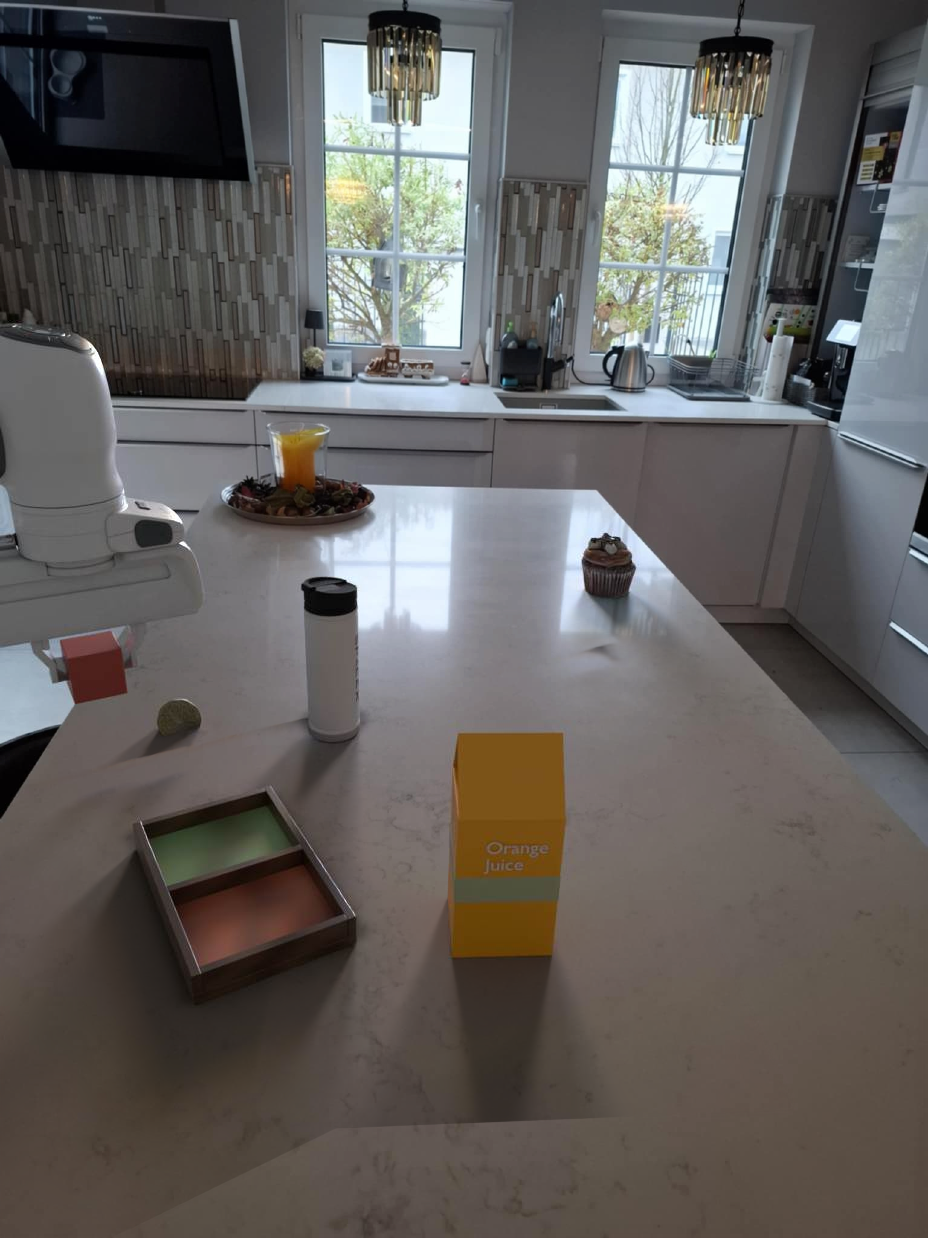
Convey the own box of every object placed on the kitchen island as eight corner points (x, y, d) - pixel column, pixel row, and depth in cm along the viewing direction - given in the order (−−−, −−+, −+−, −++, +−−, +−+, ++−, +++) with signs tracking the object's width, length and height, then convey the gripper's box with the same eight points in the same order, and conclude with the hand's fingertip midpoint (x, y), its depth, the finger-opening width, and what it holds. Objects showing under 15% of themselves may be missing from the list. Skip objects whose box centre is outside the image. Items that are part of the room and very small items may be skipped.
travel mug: (297, 728, 108) (289, 577, 100) (342, 712, 112) (338, 566, 104) (323, 749, 104) (318, 594, 96) (369, 732, 108) (368, 582, 100)
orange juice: (446, 896, 81) (453, 709, 73) (539, 894, 82) (556, 709, 74) (451, 959, 74) (459, 760, 66) (553, 957, 75) (573, 759, 67)
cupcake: (621, 604, 150) (627, 548, 146) (570, 591, 154) (575, 537, 150) (641, 587, 157) (648, 534, 153) (592, 576, 162) (597, 524, 158)
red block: (74, 704, 77) (67, 659, 75) (66, 683, 80) (59, 639, 79) (127, 693, 79) (121, 648, 77) (117, 673, 83) (111, 630, 81)
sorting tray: (194, 1005, 69) (191, 977, 68) (135, 848, 86) (132, 823, 85) (356, 943, 76) (356, 916, 74) (272, 808, 93) (270, 785, 92)
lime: (207, 732, 106) (204, 696, 104) (180, 751, 102) (176, 714, 100) (179, 723, 108) (175, 688, 106) (151, 741, 104) (146, 705, 102)
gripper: (-68, 556, 66) (-32, 714, 72) (202, 522, 76) (215, 663, 82) (-70, 532, 71) (-37, 682, 77) (183, 503, 81) (196, 638, 86)
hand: (95, 672), depth 79 cm, fingers closed on red block, 4 cm apart
